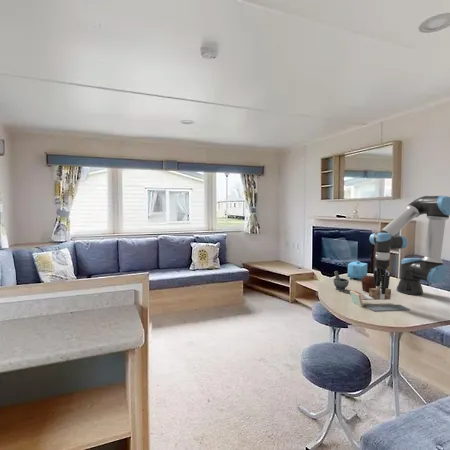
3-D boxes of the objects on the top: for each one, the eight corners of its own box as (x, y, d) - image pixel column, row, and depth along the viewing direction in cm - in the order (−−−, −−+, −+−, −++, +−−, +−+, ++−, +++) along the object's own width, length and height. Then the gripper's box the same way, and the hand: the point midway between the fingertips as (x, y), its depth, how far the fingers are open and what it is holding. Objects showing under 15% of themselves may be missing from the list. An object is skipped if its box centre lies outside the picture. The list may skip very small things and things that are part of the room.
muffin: (360, 292, 208) (361, 277, 208) (359, 287, 219) (360, 273, 218) (380, 294, 205) (381, 279, 204) (378, 289, 215) (378, 275, 214)
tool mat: (400, 305, 183) (400, 304, 183) (410, 310, 175) (410, 309, 175) (365, 306, 179) (365, 305, 179) (373, 311, 171) (374, 310, 171)
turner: (384, 296, 190) (385, 287, 189) (392, 300, 183) (393, 290, 182) (354, 297, 187) (355, 287, 186) (361, 301, 180) (361, 290, 179)
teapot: (353, 275, 256) (354, 258, 255) (367, 277, 250) (368, 260, 248) (344, 280, 239) (345, 262, 238) (360, 282, 232) (361, 264, 231)
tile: (354, 301, 188) (351, 290, 187) (363, 306, 179) (360, 294, 178) (352, 301, 188) (349, 290, 187) (361, 306, 179) (358, 295, 178)
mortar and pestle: (351, 290, 211) (352, 273, 210) (340, 292, 207) (341, 274, 206) (338, 286, 221) (339, 269, 220) (328, 287, 217) (329, 270, 216)
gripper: (368, 256, 191) (366, 294, 193) (385, 261, 175) (382, 302, 177) (379, 256, 192) (377, 293, 194) (397, 261, 176) (394, 302, 178)
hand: (379, 298), depth 185 cm, fingers closed on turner, 3 cm apart
